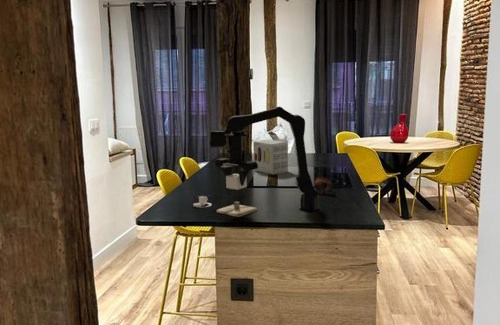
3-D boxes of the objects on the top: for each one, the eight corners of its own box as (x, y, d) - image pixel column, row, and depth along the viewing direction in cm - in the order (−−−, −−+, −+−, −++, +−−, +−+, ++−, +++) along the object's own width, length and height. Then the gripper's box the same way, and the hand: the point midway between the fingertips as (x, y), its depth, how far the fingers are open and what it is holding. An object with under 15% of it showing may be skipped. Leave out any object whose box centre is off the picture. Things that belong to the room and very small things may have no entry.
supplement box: (253, 170, 282) (252, 141, 279) (268, 167, 291) (268, 139, 288) (272, 174, 269) (272, 143, 266) (288, 171, 278) (288, 141, 275)
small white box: (246, 186, 193) (246, 174, 192) (237, 189, 188) (237, 176, 188) (235, 185, 197) (235, 172, 196) (226, 187, 192) (225, 175, 191)
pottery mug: (306, 193, 226) (310, 177, 229) (321, 199, 230) (325, 183, 233) (322, 191, 216) (326, 174, 218) (337, 197, 220) (341, 181, 222)
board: (257, 210, 195) (256, 201, 194) (238, 217, 186) (238, 207, 185) (235, 206, 203) (235, 197, 202) (216, 212, 193) (216, 202, 193)
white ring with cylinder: (195, 209, 200) (195, 200, 199) (189, 205, 207) (189, 196, 206) (214, 206, 203) (214, 197, 203) (208, 202, 210) (207, 194, 210)
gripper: (265, 146, 190) (266, 183, 193) (230, 143, 201) (231, 178, 204) (248, 149, 182) (249, 188, 184) (213, 146, 193) (214, 183, 196)
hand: (236, 184), depth 192 cm, fingers closed on small white box, 6 cm apart
